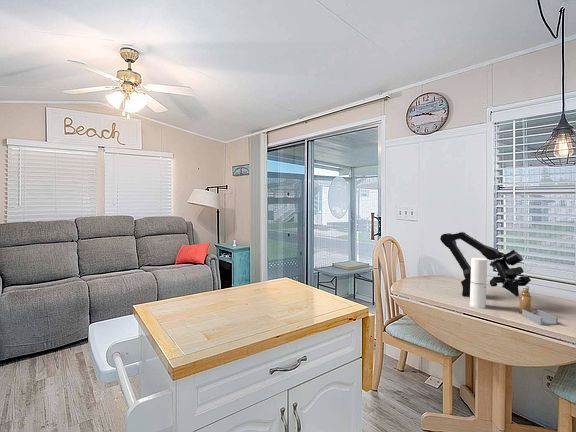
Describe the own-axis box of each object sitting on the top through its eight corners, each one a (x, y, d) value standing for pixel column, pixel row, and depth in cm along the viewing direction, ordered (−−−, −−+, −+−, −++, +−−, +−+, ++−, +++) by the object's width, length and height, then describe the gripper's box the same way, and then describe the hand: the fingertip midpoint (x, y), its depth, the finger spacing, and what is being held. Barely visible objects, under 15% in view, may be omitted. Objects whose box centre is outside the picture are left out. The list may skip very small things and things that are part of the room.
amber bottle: (520, 314, 158) (521, 287, 157) (518, 311, 162) (519, 284, 161) (531, 315, 156) (532, 288, 155) (529, 312, 160) (530, 286, 159)
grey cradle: (522, 316, 156) (522, 309, 155) (537, 315, 156) (538, 309, 156) (540, 324, 145) (540, 317, 144) (557, 324, 145) (557, 317, 145)
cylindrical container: (466, 304, 173) (468, 257, 172) (479, 303, 174) (480, 257, 173) (475, 308, 166) (477, 260, 165) (488, 308, 167) (490, 260, 166)
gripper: (493, 261, 168) (508, 288, 157) (528, 261, 168) (545, 287, 158) (483, 272, 176) (496, 299, 166) (517, 272, 177) (532, 298, 166)
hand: (517, 296), depth 164 cm, fingers closed
